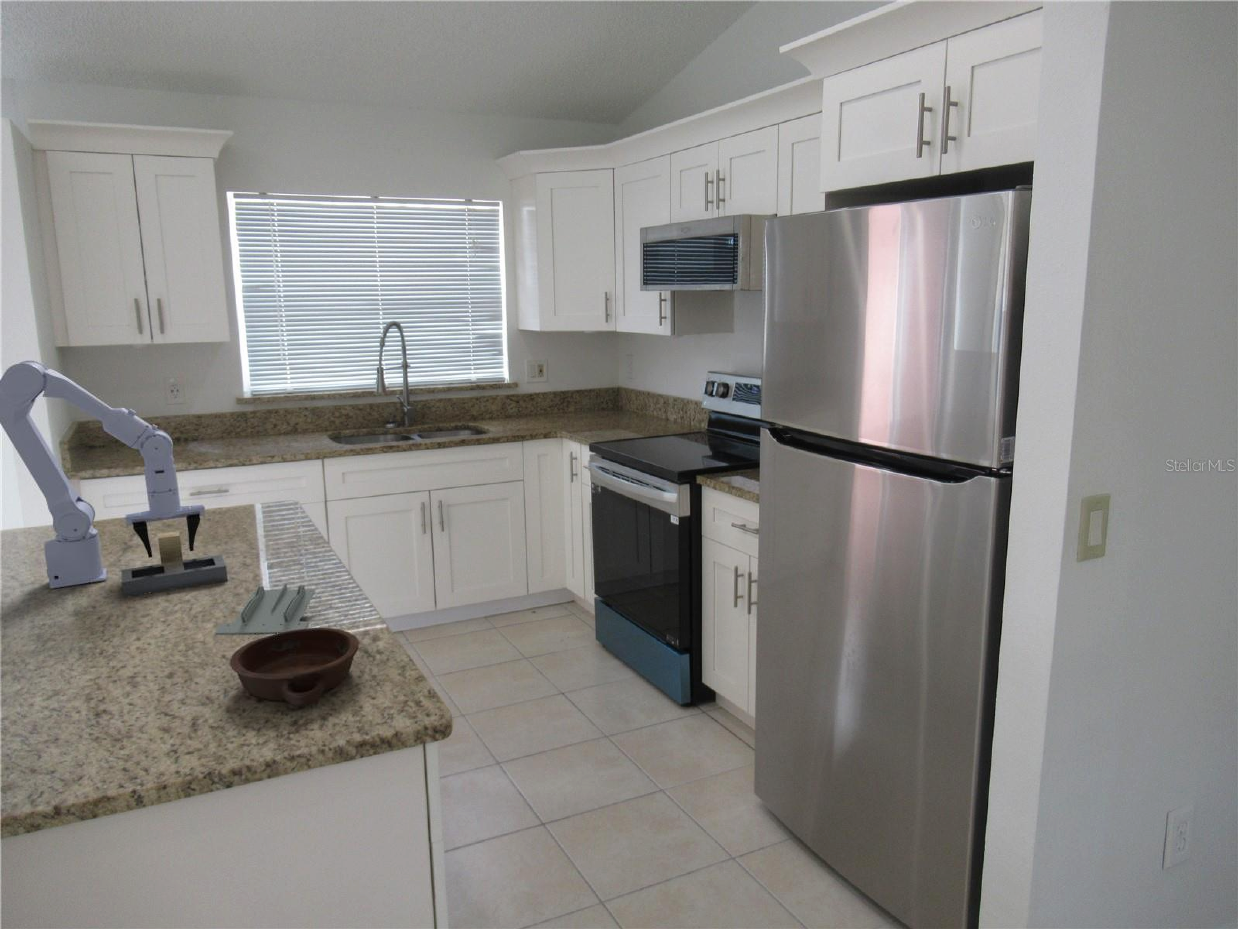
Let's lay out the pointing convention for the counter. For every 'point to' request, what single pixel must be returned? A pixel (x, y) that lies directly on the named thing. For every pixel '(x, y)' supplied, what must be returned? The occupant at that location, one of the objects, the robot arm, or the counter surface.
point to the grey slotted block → (173, 575)
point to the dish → (295, 664)
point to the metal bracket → (271, 612)
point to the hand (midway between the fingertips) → (171, 553)
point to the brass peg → (170, 547)
